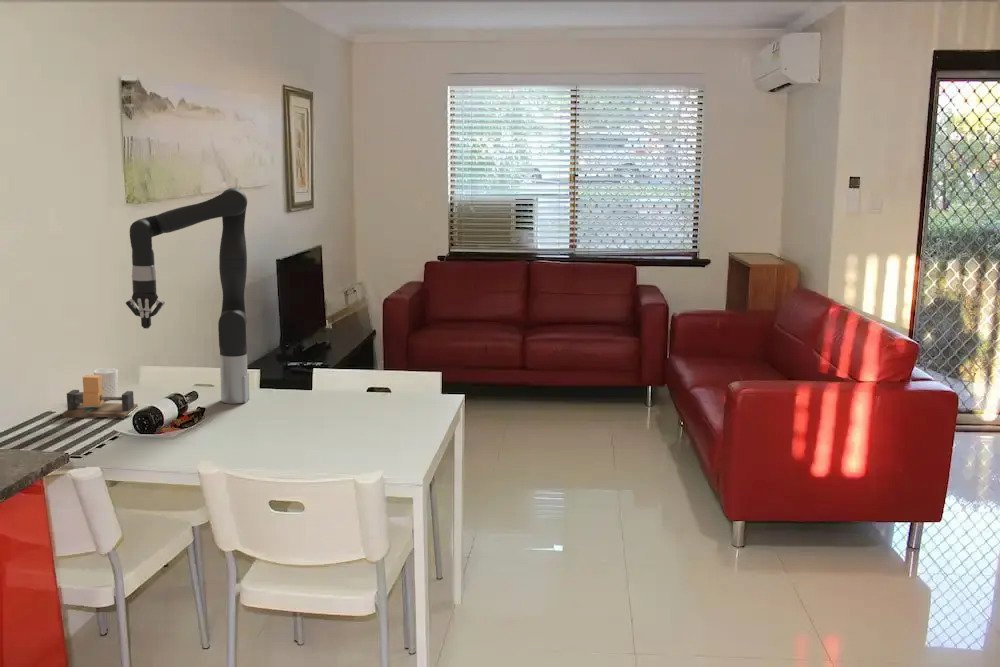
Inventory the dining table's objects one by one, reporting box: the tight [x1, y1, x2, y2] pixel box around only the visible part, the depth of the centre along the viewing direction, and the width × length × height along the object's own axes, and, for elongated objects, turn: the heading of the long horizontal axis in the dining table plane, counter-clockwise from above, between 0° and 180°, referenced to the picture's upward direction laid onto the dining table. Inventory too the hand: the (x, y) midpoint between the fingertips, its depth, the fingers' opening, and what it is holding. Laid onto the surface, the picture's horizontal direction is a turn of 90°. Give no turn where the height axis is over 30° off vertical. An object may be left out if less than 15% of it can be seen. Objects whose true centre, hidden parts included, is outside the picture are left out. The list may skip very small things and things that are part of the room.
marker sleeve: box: [82, 374, 105, 406], centre depth 302 cm, size 5×4×10 cm
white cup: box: [93, 367, 119, 397], centre depth 320 cm, size 8×8×10 cm
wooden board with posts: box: [62, 389, 139, 418], centre depth 303 cm, size 20×12×7 cm, turn 92°
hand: (146, 328), depth 310 cm, fingers closed
